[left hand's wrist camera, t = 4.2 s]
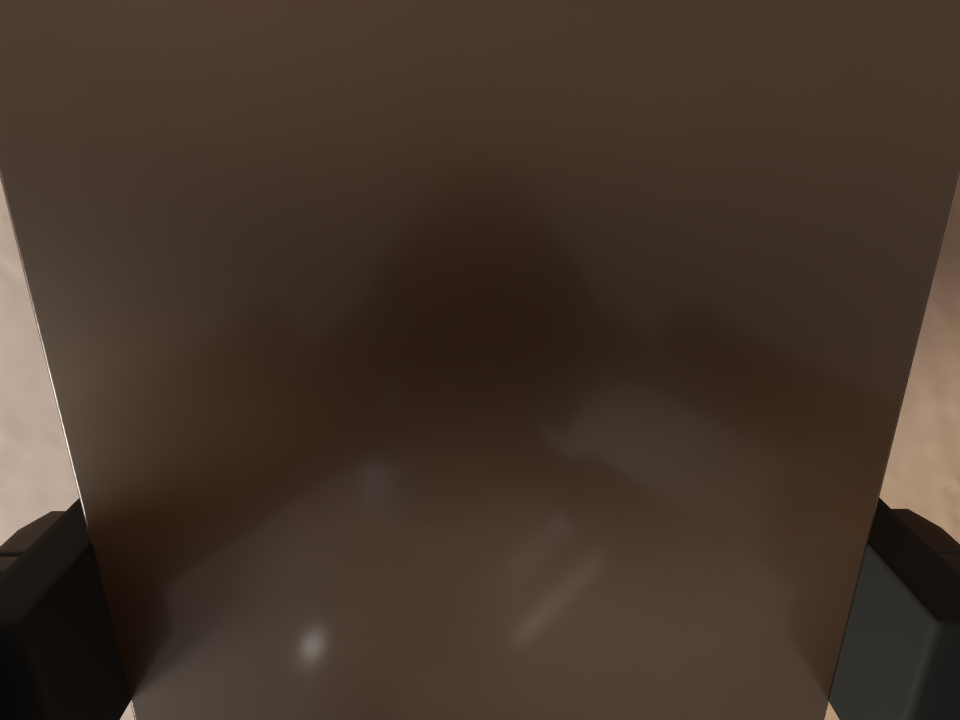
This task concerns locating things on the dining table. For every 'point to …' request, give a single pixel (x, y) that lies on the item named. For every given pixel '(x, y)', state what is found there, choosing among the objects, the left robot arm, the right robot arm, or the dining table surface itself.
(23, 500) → the dining table surface
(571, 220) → the cabinet
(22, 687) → the left robot arm
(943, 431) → the dining table surface
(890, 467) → the dining table surface
